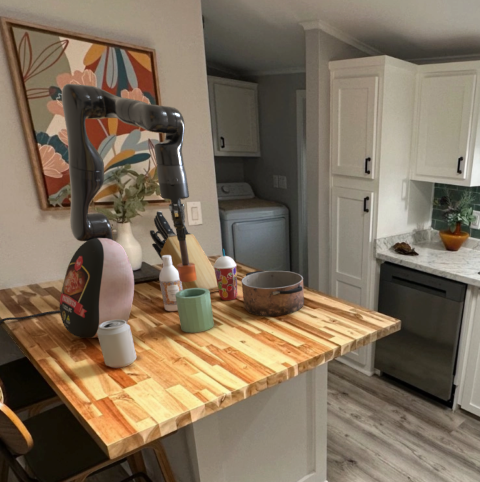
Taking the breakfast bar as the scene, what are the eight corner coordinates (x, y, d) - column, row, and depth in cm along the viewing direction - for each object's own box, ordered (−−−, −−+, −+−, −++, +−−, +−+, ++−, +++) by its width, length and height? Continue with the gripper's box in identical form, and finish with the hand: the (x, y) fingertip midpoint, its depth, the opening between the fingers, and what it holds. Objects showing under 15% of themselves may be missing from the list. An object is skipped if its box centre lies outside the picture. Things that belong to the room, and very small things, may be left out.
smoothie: (244, 296, 166) (239, 248, 159) (230, 302, 159) (224, 252, 152) (227, 293, 169) (221, 245, 161) (213, 299, 161) (206, 250, 154)
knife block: (180, 275, 189) (169, 207, 178) (225, 291, 170) (216, 217, 159) (155, 280, 181) (142, 209, 169) (200, 298, 162) (188, 220, 150)
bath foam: (166, 313, 147) (156, 259, 140) (163, 306, 153) (154, 254, 145) (187, 309, 151) (178, 257, 143) (184, 303, 156) (175, 252, 149)
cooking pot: (228, 301, 160) (225, 275, 156) (278, 289, 175) (276, 265, 171) (270, 324, 141) (267, 295, 137) (321, 309, 156) (320, 282, 152)
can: (114, 356, 117) (105, 317, 112) (142, 356, 117) (134, 317, 113) (99, 369, 110) (89, 329, 105) (129, 369, 110) (119, 328, 106)
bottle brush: (179, 282, 128) (169, 225, 121) (180, 278, 132) (171, 222, 125) (196, 281, 130) (188, 224, 123) (196, 276, 134) (188, 221, 127)
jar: (180, 334, 131) (174, 299, 127) (182, 322, 140) (176, 289, 136) (214, 330, 135) (209, 296, 131) (213, 319, 144) (209, 286, 139)
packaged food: (55, 333, 129) (28, 239, 118) (122, 315, 144) (103, 230, 133) (86, 353, 118) (59, 251, 107) (154, 331, 133) (137, 240, 122)
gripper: (160, 179, 124) (170, 235, 131) (156, 183, 112) (166, 245, 119) (187, 179, 127) (195, 234, 133) (186, 183, 115) (194, 243, 122)
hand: (181, 239), depth 126 cm, fingers closed on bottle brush
